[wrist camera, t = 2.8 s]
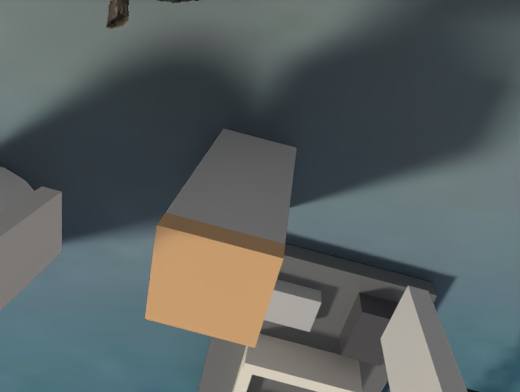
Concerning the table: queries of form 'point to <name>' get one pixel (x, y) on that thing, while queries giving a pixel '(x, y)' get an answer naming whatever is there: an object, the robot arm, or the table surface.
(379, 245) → the table surface
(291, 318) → the board
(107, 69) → the table surface
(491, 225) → the table surface
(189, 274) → the plug
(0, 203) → the foam cup
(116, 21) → the mate gourd
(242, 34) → the table surface
